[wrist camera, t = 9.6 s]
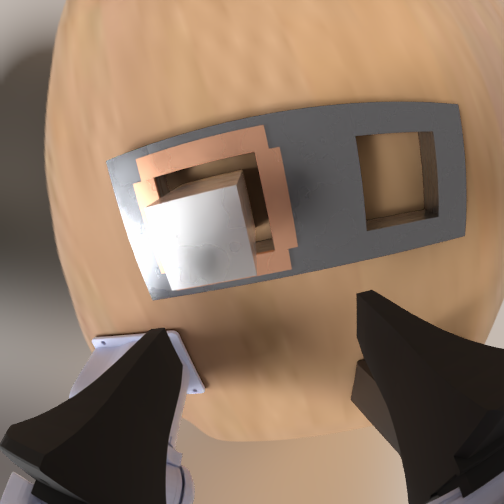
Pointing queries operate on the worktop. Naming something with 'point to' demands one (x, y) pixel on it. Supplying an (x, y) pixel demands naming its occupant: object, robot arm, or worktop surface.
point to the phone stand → (373, 403)
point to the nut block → (205, 231)
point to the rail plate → (306, 186)
